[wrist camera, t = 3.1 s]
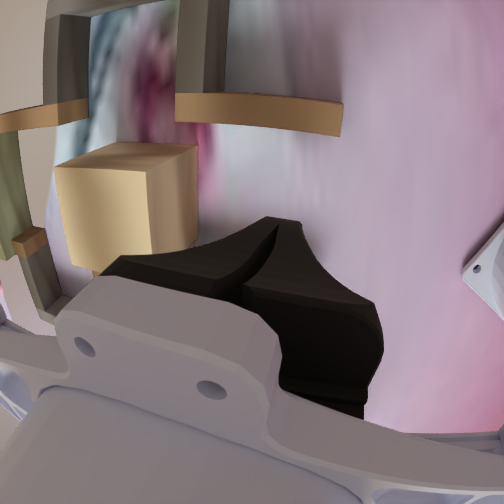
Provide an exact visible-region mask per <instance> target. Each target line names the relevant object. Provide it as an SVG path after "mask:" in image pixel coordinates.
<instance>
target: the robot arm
mask: <svg viewBox="0 0 504 504" xmlns="http://www.w3.org/2000/svg"><path fill="white" fill-rule="evenodd" d="M476 265H479V266H478V268H476V269H473V268H474V266H476ZM461 277H462V279H463V281H464V282H465V283H466V284H467V285H468V286H469V287H470V288H472V289H473V290H474V291H475V292H476V293H477V294H478V295H479V296H480V297H481V298H482V299H483V300H484V301H485V302H486V303H487V304H488V305H489V306H490V307H491V308H492V309H493V310H494V311H495V312H496V313H497V314H498V315H499V316H500V317H501V318H502V319H503V320H504V222H503V223H502V224H501V226H500V227H499V228H498V229H497V230H496V232H495V233H494V234H493V235H492V236H491V238H490V239H489V240H488V241H487V242H486V243H485V244H484V246H483V247H482V248H481V249H480V250H479V251H478V252H477V253H476V255H475V256H474V257H473V258H472V259H471V260H470V261H469V262H468V263H467V264H466V265H465V266H464V268H463V269H462V271H461ZM54 324H55V330H56V335H57V337H56V336H45V335H36V334H34V333H32V332H30V331H28V330H26V329H24V328H22V327H21V326H19V325H17V324H15V323H13V322H12V321H10V320H8V319H7V317H6V314H5V311H4V309H3V307H2V305H1V304H0V405H2V406H3V407H4V408H5V409H6V410H7V411H8V412H9V413H11V414H12V415H13V416H14V417H15V418H17V419H18V420H19V421H20V422H21V423H20V424H19V426H18V427H17V428H16V430H15V431H14V432H13V434H12V435H11V437H10V438H9V439H8V441H7V442H6V444H5V445H4V447H3V448H2V450H1V451H0V504H504V424H503V426H502V427H501V428H500V429H499V431H490V432H475V433H403V432H399V431H396V430H393V429H389V428H386V427H383V426H380V425H377V424H374V423H371V422H367V421H364V405H365V404H366V402H367V399H368V386H369V384H370V382H371V380H372V378H373V376H374V374H375V372H376V370H377V368H378V366H379V364H380V362H381V359H382V356H383V352H384V340H383V332H382V327H381V324H380V320H379V317H378V314H377V310H376V307H375V304H374V303H373V302H371V301H369V300H367V299H365V298H364V297H362V296H360V295H358V294H356V293H354V292H352V291H351V290H349V289H348V288H346V287H345V286H344V285H342V284H341V283H340V282H338V281H337V280H336V279H335V278H334V277H332V276H331V275H330V274H329V273H328V272H327V271H326V270H325V269H324V268H323V267H322V266H321V264H320V263H319V262H318V261H317V259H316V258H315V256H314V254H313V253H312V251H311V249H310V247H309V245H308V243H307V241H306V239H305V236H304V233H303V230H302V224H301V223H300V221H293V220H287V219H281V218H275V217H268V216H267V217H264V218H262V219H260V220H259V221H257V222H255V223H253V224H251V225H250V226H248V227H246V228H244V229H242V230H240V231H238V232H236V233H234V234H232V235H229V236H227V237H225V238H223V239H220V240H218V241H215V242H212V243H209V244H206V245H202V246H199V247H194V248H190V249H185V250H181V251H175V252H168V253H160V254H148V255H120V256H119V257H118V258H117V259H116V260H114V261H113V262H112V263H111V264H110V265H109V266H108V267H107V268H106V269H105V270H104V271H103V272H102V273H101V274H100V275H98V276H96V277H95V278H94V279H93V280H91V281H90V282H89V283H88V284H87V285H86V286H85V287H84V288H83V289H82V290H81V291H80V292H79V293H78V294H77V295H76V296H75V297H74V298H73V299H72V300H71V301H70V302H69V303H68V304H67V305H66V306H65V307H64V308H63V309H62V310H61V311H60V313H59V314H58V315H57V316H56V318H55V319H54Z"/></svg>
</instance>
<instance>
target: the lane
mask: <svg viewBox="0 0 504 504" xmlns="http://www.w3.org/2000/svg"><path fill="white" fill-rule="evenodd" d="M157 1H163V0H48V3H47V11H46V22H45V34H44V52H43V105H39V106H33V107H28V108H24V109H19V110H15V111H10V112H6V113H3V114H0V259H3V260H5V261H7V260H8V259H10V258H11V257H12V256H14V255H18V257H19V261H20V263H21V267H22V270H23V273H24V276H25V279H26V282H27V285H28V287H29V290H30V293H31V296H32V299H33V301H34V304H35V306H36V309H37V311H38V314H39V316H40V318H41V319H42V320H44V321H46V322H49V323H51V324H53V325H55V324H54V319H55V318H56V316H57V315H58V314H59V313H60V311H61V310H62V309H63V308H64V307H65V306H66V305H67V304H68V303H69V302H70V301H71V300H72V299H73V298H71V297H68V296H65V295H63V294H62V291H61V287H60V284H59V281H58V277H57V274H56V271H55V267H54V263H53V260H52V256H51V252H50V248H49V244H48V240H47V236H46V232H45V229H44V228H40V227H35V226H33V224H32V220H31V215H30V211H29V206H28V201H27V196H26V190H25V184H24V179H23V173H22V165H21V157H20V149H19V140H18V130H24V129H33V128H41V127H51V126H59V125H63V124H66V123H70V122H74V121H77V120H81V119H85V118H89V116H88V51H89V32H90V19H91V17H93V16H96V15H100V14H103V13H107V12H111V11H115V10H119V9H123V8H127V7H132V6H136V5H141V4H146V3H152V2H157ZM228 14H229V0H180V10H179V23H178V38H177V56H176V81H175V122H201V123H220V124H235V125H247V126H258V127H269V128H278V129H286V130H295V131H302V132H309V133H316V134H323V135H330V136H336V137H340V132H341V124H342V116H343V107H344V105H343V104H342V103H337V102H331V101H324V100H317V99H309V98H301V97H292V96H282V95H271V94H258V93H242V92H224V77H225V59H226V43H227V28H228ZM92 272H93V276H94V278H95V277H96V276H98V275H100V274H101V273H100V272H96V271H93V270H92Z"/></svg>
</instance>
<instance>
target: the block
mask: <svg viewBox="0 0 504 504" xmlns="http://www.w3.org/2000/svg"><path fill="white" fill-rule="evenodd" d="M54 174H55V181H56V188H57V194H58V200H59V206H60V212H61V217H62V222H63V227H64V232H65V237H66V241H67V246H68V250H69V254H70V258H71V262H72V265H75V266H78V267H82V268H86V269H89V270H93V271H96V272H100V273H102V272H103V271H104V270H105V269H106V268H107V267H108V266H109V265H110V264H111V263H112V262H113V261H114V260H116V259H117V258H118V257H119V256H120V255H148V254H160V253H168V252H175V251H181V250H185V249H188V248H189V247H190V246H191V245H192V243H193V242H194V241H195V240H196V239H197V238H198V236H199V229H198V145H187V144H169V143H141V142H115V143H113V144H110V145H107V146H104V147H102V148H99V149H96V150H94V151H91V152H89V153H86V154H84V155H81V156H79V157H76V158H74V159H71V160H69V161H67V162H64V163H62V164H60V165H57V166H55V167H54Z"/></svg>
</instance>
